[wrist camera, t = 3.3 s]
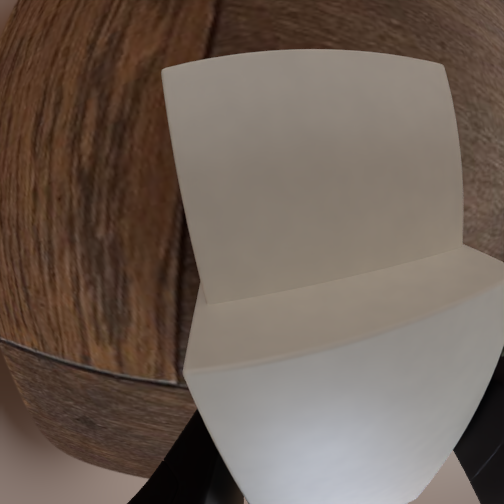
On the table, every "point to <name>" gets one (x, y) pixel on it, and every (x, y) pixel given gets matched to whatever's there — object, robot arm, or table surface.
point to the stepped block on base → (330, 271)
